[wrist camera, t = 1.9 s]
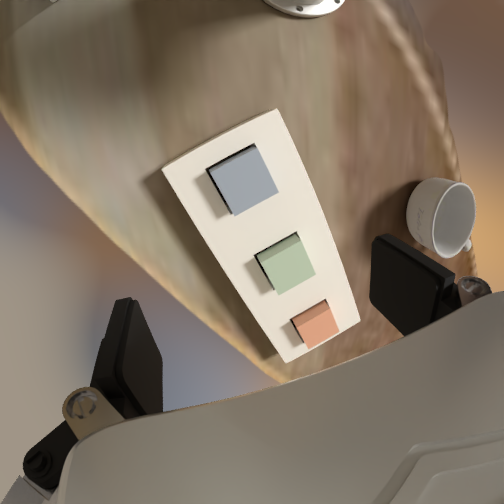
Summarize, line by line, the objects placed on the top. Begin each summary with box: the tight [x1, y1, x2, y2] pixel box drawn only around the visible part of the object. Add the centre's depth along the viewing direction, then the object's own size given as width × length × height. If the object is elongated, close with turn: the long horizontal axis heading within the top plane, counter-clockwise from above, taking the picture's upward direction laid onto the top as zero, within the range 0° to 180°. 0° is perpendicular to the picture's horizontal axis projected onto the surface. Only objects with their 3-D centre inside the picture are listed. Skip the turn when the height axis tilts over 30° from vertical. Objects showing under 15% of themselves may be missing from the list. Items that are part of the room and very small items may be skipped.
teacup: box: [406, 178, 476, 258], centre depth 36 cm, size 14×11×8 cm
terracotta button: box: [292, 300, 340, 349], centre depth 39 cm, size 5×5×2 cm
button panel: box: [162, 109, 361, 363], centre depth 36 cm, size 13×32×3 cm, turn 26°
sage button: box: [257, 234, 316, 295], centre depth 33 cm, size 5×5×2 cm
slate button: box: [209, 147, 279, 216], centre depth 28 cm, size 5×5×2 cm
